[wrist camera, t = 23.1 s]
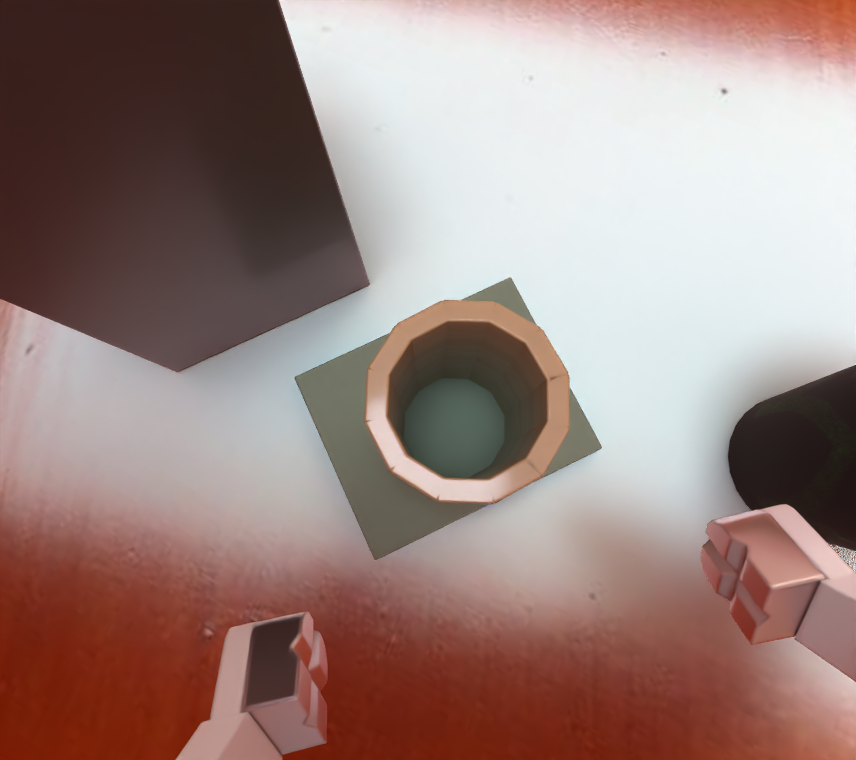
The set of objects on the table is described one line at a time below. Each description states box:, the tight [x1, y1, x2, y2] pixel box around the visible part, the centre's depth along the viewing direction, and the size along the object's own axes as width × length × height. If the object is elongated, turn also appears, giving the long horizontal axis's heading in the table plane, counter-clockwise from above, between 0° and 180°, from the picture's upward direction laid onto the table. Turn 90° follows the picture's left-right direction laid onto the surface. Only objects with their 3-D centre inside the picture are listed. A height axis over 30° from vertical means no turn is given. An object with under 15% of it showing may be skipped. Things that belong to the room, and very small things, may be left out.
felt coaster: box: [295, 278, 602, 560], centre depth 22 cm, size 10×8×1 cm
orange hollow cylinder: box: [364, 300, 570, 504], centre depth 17 cm, size 5×5×8 cm
